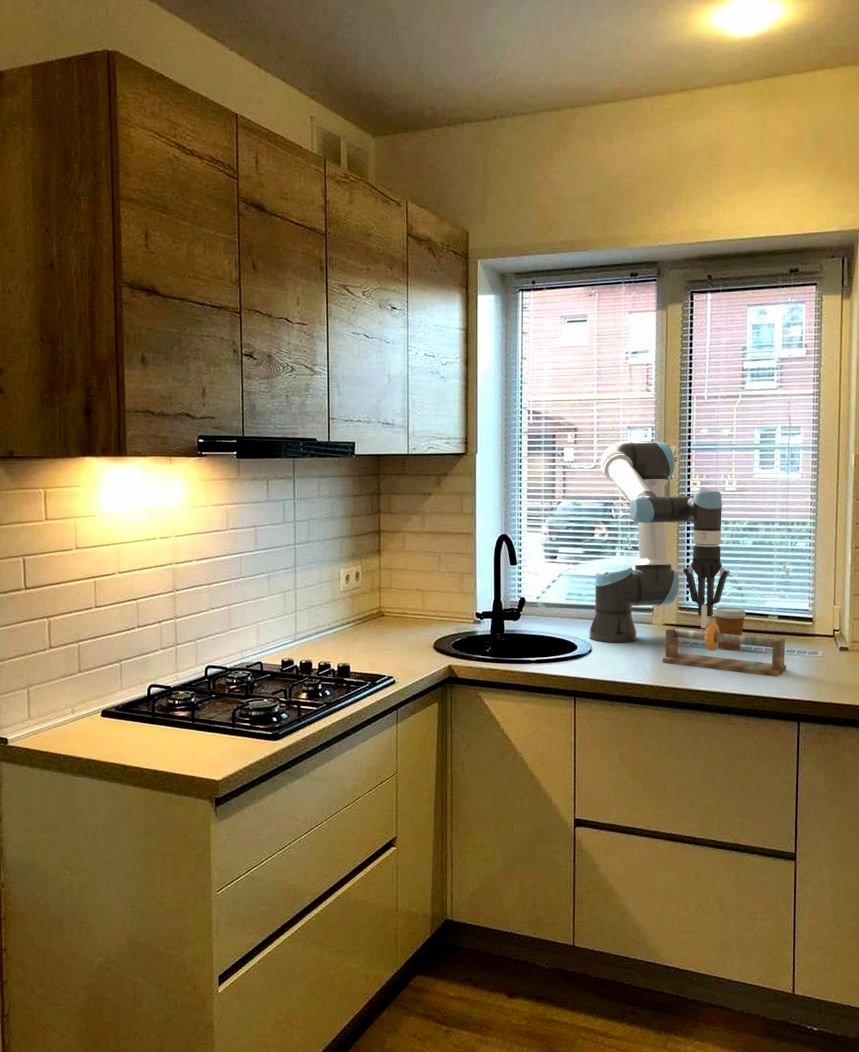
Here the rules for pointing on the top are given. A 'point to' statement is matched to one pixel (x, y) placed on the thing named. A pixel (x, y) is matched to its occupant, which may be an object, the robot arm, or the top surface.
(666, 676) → the top surface
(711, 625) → the o-ring
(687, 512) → the robot arm
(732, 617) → the disposable coffee cup
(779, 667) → the pipe stand
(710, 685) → the top surface
